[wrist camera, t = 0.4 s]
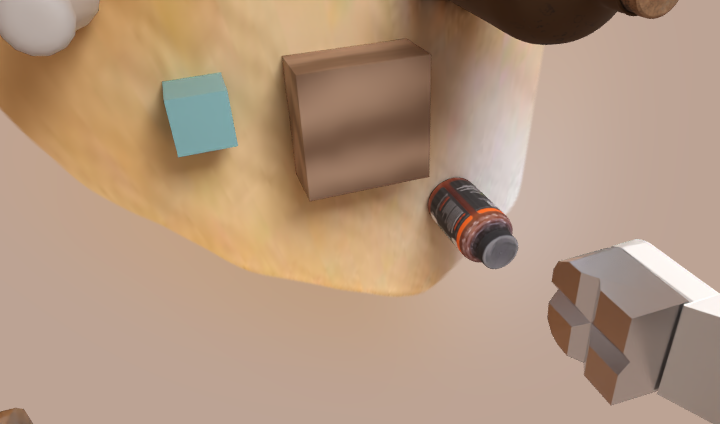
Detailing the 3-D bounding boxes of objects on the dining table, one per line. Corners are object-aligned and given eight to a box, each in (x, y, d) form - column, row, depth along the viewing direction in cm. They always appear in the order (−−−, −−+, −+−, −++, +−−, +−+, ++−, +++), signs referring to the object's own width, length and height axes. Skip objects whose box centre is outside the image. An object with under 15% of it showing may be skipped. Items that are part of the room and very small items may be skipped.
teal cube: (162, 81, 50) (163, 100, 45) (220, 72, 51) (227, 90, 47) (175, 134, 52) (178, 157, 48) (230, 124, 53) (237, 146, 49)
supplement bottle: (424, 225, 66) (470, 283, 57) (427, 179, 63) (475, 233, 54) (471, 216, 68) (522, 271, 59) (476, 171, 65) (531, 222, 56)
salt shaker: (118, -7, 45) (110, 32, 34) (63, 40, 46) (39, 93, 35) (55, -74, 42) (26, -54, 31) (-3, -23, 42) (-52, 14, 32)
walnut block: (281, 55, 52) (295, 75, 47) (405, 37, 55) (431, 54, 50) (295, 172, 58) (309, 201, 53) (406, 151, 61) (429, 176, 56)
